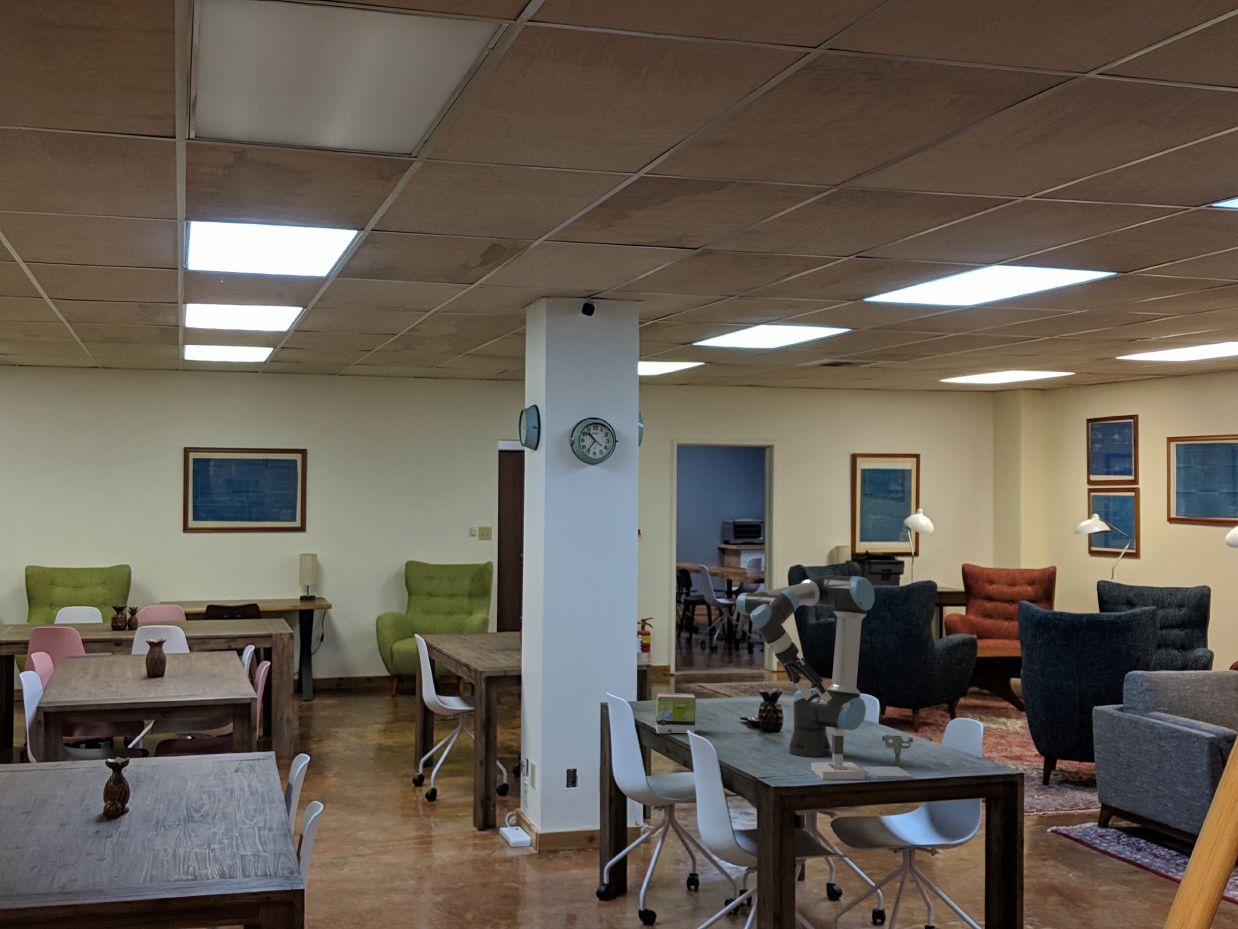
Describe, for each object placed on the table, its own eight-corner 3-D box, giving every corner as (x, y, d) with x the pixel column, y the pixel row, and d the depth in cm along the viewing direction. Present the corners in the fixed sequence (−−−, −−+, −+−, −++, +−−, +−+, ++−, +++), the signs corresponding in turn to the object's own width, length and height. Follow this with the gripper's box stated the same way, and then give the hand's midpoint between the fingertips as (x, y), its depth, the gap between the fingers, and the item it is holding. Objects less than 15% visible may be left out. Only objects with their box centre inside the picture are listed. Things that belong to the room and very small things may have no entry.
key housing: (811, 770, 391) (811, 762, 391) (851, 769, 392) (851, 762, 392) (822, 779, 377) (822, 771, 377) (864, 779, 378) (864, 771, 378)
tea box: (657, 734, 451) (657, 696, 452) (655, 729, 461) (655, 692, 462) (695, 734, 451) (696, 696, 452) (693, 730, 461) (693, 692, 462)
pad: (863, 769, 393) (863, 766, 393) (897, 769, 394) (897, 766, 394) (876, 779, 379) (876, 776, 379) (912, 778, 380) (912, 775, 380)
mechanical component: (912, 767, 397) (912, 738, 398) (882, 765, 400) (882, 736, 400) (912, 765, 400) (912, 736, 401) (882, 764, 402) (882, 734, 403)
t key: (829, 772, 388) (829, 727, 389) (838, 772, 389) (839, 726, 389) (836, 777, 380) (836, 731, 381) (845, 777, 381) (846, 731, 381)
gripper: (759, 652, 394) (793, 703, 396) (791, 656, 371) (828, 709, 372) (775, 639, 397) (809, 689, 398) (808, 641, 373) (844, 694, 375)
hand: (818, 699), depth 385 cm, fingers open, 13 cm apart
